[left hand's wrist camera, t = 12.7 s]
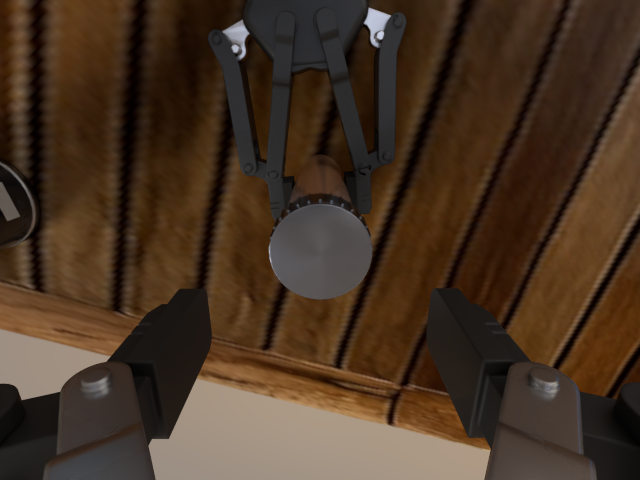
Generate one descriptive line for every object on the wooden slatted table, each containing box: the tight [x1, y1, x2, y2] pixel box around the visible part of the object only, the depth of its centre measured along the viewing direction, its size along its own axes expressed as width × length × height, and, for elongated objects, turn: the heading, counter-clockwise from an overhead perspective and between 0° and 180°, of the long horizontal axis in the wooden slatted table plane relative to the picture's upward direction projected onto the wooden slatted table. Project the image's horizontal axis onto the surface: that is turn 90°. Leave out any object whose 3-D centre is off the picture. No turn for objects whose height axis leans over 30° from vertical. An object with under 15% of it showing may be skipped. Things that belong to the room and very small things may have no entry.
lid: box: [269, 192, 373, 299], centre depth 17 cm, size 5×5×2 cm
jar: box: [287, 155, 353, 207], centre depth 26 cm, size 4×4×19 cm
